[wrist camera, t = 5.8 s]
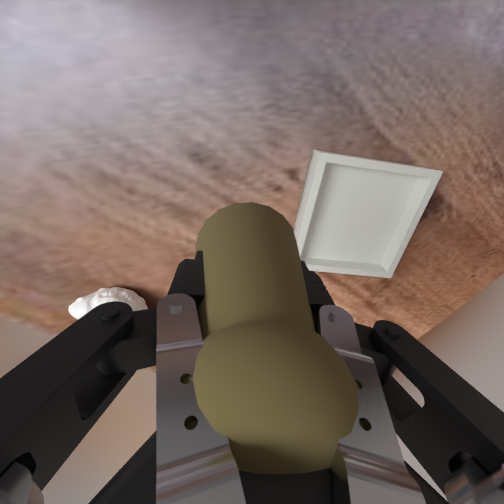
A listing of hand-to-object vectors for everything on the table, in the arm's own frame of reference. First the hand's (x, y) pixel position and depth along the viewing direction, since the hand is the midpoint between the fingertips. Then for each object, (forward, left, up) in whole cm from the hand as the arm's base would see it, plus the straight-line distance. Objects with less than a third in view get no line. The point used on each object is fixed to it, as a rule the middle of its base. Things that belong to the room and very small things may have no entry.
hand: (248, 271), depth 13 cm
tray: (+3, +17, -22) cm, 28 cm away
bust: (+21, -16, -22) cm, 35 cm away
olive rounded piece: (0, 0, -3) cm, 3 cm away
